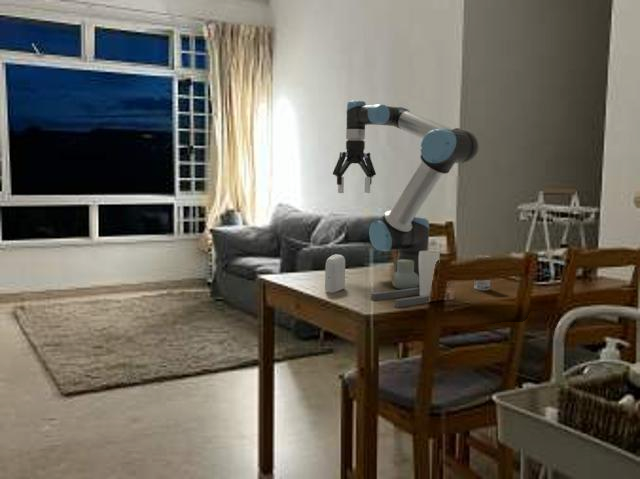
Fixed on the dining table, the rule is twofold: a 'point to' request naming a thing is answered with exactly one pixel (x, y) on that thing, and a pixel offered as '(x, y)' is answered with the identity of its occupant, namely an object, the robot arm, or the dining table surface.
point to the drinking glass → (426, 270)
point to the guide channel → (407, 293)
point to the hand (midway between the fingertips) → (354, 193)
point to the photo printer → (335, 273)
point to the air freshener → (405, 275)
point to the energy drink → (482, 284)
